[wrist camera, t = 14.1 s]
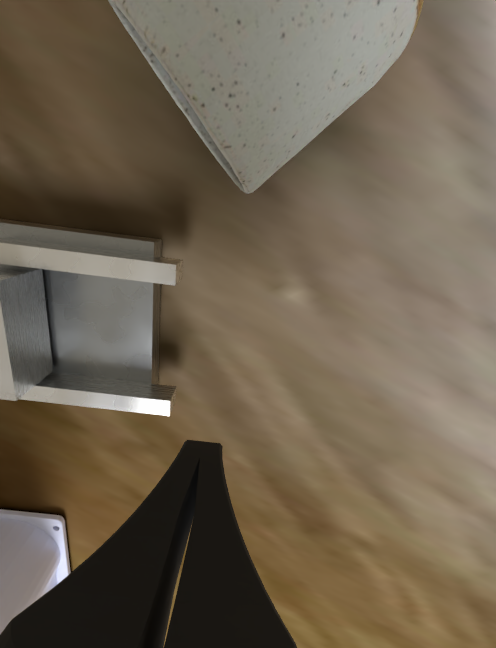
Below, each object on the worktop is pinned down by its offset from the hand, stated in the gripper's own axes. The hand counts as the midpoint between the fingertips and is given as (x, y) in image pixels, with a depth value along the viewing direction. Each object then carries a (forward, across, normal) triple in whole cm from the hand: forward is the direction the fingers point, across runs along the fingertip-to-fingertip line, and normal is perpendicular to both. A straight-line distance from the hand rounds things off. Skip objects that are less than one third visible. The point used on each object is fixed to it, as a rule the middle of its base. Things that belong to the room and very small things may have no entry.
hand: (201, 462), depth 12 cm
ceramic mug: (+9, +1, -16) cm, 18 cm away
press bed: (+8, +13, -2) cm, 16 cm away
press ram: (+7, +12, -2) cm, 13 cm away
